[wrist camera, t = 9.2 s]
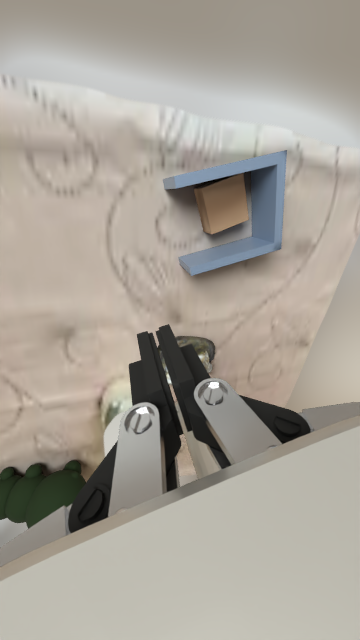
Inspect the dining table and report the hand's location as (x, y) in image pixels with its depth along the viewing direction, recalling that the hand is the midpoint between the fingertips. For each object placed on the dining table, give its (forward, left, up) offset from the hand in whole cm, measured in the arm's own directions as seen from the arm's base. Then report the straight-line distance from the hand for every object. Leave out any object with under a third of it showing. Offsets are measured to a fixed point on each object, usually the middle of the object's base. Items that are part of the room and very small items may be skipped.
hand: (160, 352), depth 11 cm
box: (+2, -12, -20) cm, 23 cm away
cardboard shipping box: (+4, -12, -20) cm, 24 cm away
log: (-19, -3, -20) cm, 28 cm away
